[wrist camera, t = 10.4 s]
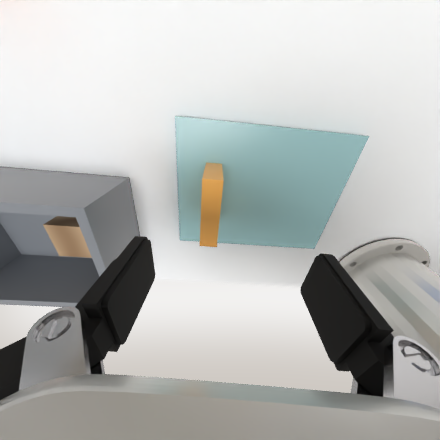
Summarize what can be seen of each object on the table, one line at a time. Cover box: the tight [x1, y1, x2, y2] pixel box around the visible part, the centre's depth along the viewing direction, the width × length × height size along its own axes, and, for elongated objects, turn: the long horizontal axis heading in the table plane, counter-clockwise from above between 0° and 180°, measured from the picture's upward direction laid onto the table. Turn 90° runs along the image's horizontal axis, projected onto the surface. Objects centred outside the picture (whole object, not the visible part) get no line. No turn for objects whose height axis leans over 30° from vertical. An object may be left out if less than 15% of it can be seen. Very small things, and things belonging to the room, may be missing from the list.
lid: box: [175, 116, 369, 249], centre depth 16 cm, size 17×13×6 cm
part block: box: [43, 216, 92, 258], centre depth 19 cm, size 4×4×3 cm
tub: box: [0, 167, 140, 307], centre depth 17 cm, size 16×12×7 cm
